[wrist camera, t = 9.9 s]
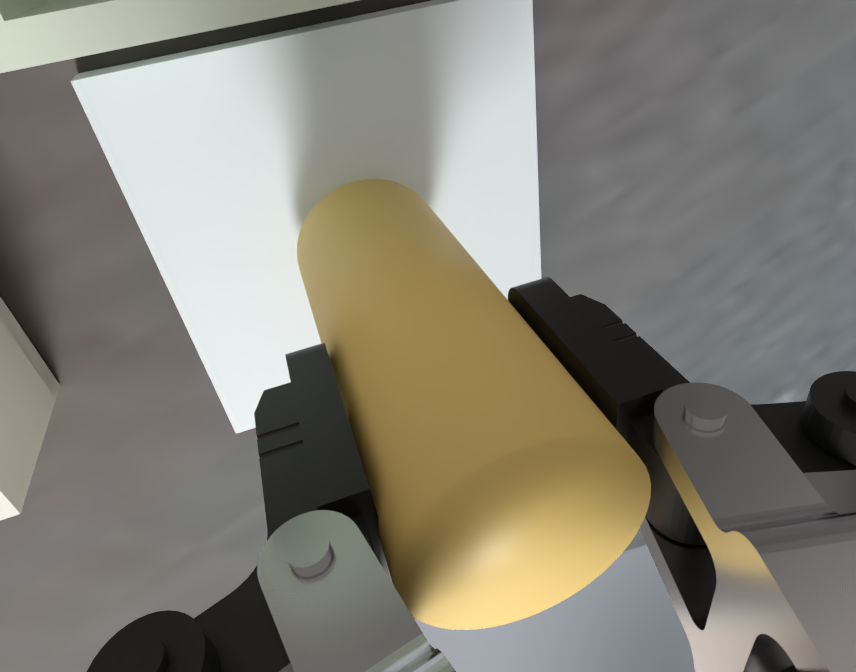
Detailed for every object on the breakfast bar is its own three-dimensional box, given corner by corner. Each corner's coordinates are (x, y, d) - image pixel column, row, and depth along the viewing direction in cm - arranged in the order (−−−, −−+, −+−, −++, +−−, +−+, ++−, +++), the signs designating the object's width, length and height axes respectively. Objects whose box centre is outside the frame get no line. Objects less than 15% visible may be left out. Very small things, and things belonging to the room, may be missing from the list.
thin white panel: (516, -17, 14) (531, -15, 14) (532, 324, 20) (543, 336, 19) (77, 73, 12) (70, 81, 12) (235, 416, 18) (236, 433, 18)
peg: (428, 162, 14) (663, 398, 7) (446, 291, 16) (640, 572, 9) (278, 200, 13) (366, 501, 6) (317, 328, 16) (416, 661, 8)
